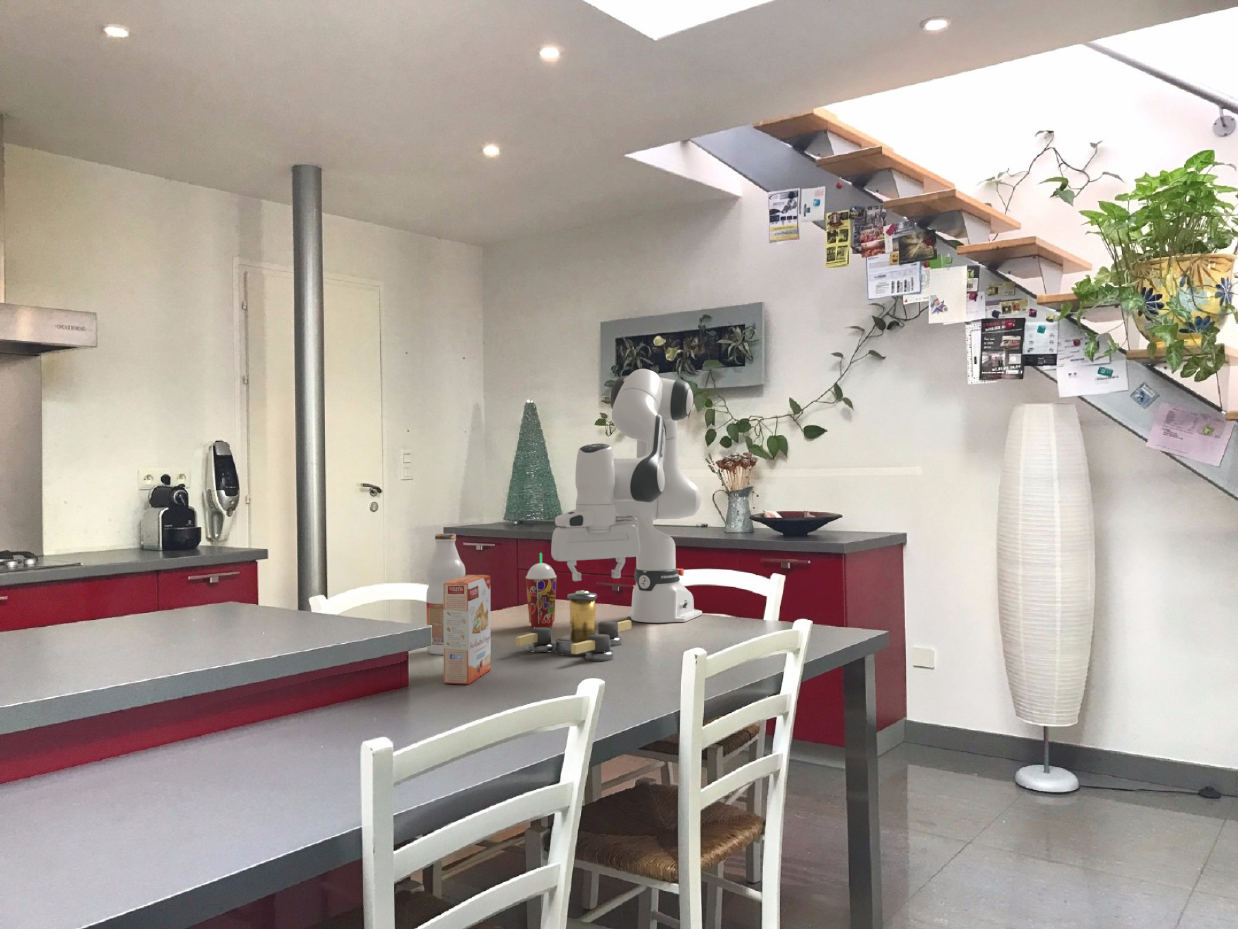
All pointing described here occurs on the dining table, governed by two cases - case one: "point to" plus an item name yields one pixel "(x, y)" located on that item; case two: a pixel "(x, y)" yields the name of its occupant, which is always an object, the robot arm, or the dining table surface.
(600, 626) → the lever knob
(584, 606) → the tribrach
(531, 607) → the smoothie
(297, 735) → the dining table surface
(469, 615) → the cracker box
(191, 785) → the dining table surface
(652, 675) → the dining table surface
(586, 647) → the knob
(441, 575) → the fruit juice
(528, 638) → the knob
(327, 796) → the dining table surface
